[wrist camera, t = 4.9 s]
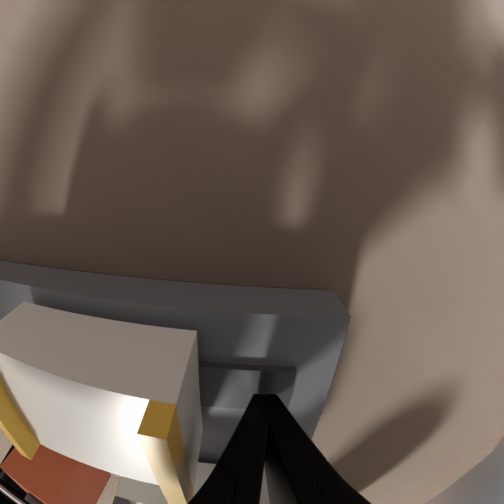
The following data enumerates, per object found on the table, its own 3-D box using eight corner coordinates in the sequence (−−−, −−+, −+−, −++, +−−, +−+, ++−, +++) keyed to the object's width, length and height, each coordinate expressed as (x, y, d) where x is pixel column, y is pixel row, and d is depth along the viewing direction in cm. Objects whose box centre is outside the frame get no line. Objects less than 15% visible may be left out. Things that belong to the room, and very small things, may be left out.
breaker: (58, 396, 9) (20, 454, 5) (23, 301, 8) (-42, 355, 4) (202, 430, 9) (191, 513, 6) (196, 330, 8) (166, 439, 4)
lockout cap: (63, 451, 12) (29, 503, 6) (40, 416, 11) (-5, 472, 5) (111, 475, 11) (79, 536, 6) (90, 443, 10) (46, 514, 5)
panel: (48, 427, 14) (35, 448, 11) (-18, 257, 10) (-47, 272, 7) (283, 472, 14) (286, 501, 12) (333, 290, 10) (355, 324, 8)
